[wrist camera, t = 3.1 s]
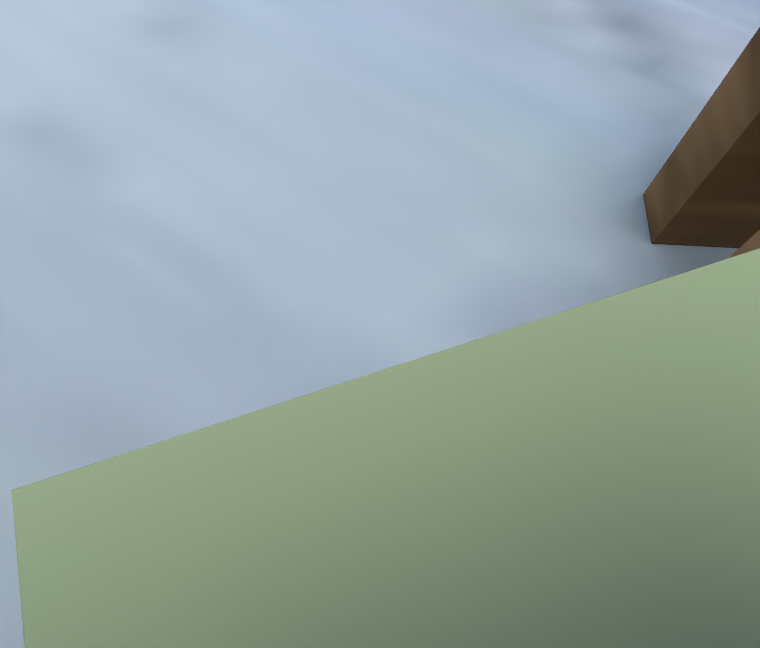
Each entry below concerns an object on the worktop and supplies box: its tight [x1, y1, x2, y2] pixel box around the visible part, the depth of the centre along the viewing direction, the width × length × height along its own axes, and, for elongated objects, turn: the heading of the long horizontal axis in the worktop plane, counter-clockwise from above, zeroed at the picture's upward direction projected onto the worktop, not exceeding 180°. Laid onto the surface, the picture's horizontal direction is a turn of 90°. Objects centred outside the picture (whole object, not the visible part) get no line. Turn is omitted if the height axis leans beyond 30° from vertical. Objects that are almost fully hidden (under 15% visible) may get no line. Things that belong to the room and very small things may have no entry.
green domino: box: [12, 248, 760, 648], centre depth 9 cm, size 2×5×13 cm, turn 109°
